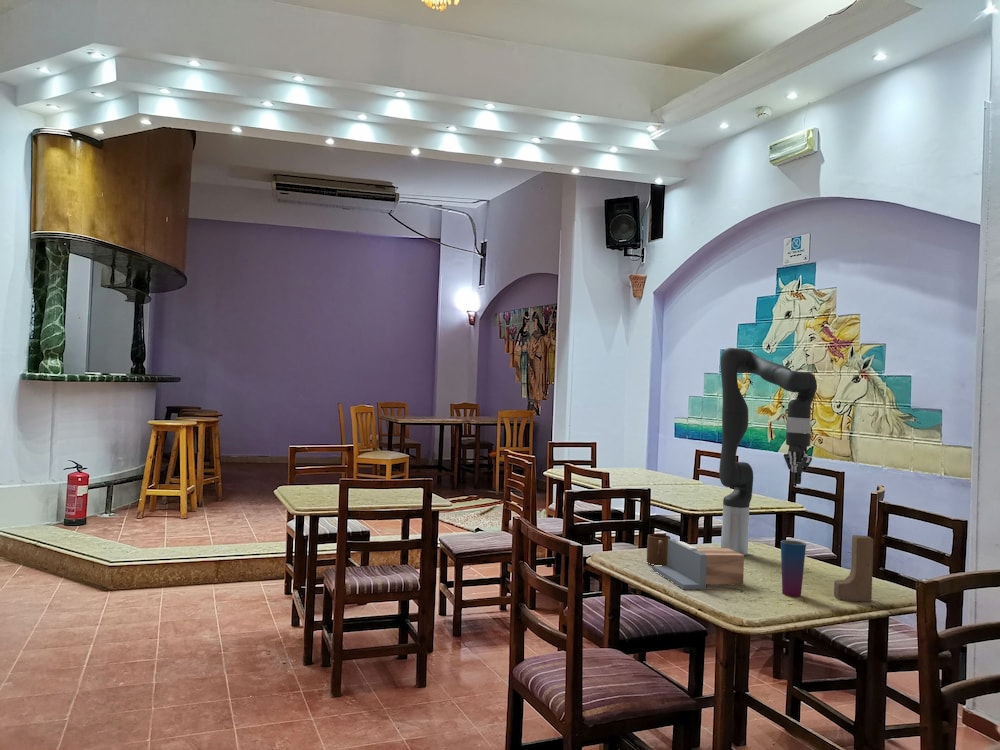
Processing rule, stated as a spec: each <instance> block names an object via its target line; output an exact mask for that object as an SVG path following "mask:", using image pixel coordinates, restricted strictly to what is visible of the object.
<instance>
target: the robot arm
mask: <svg viewBox="0 0 1000 750" xmlns="http://www.w3.org/2000/svg"><path fill="white" fill-rule="evenodd" d="M738 374H752V375H757V376H760V378H761V379H762V380H764V381H766V382H768V383H770V384H774V385H776V386H778V387H780V388H781V389H783V390H785V391H787V392H790V393H798V394H797V396H796V398H795V399H792V400H789V402H788V403H787V420H786V424H785V425H786V431H785V432H786V433H785V445H786V446H788V449H787V451H788V452H787V453H784V454H783V458H784V462H785V463H786V466H787V468H788V470H790V471H791V472H792V476H791V477H792V478H791V480H792V484H794V485H801V484H802V474H803V473H804V472H807V470H808V468H809V467H810V465H811V463H812V460H813V457H811V456H809V455H808V447H810V446H811V437H812V436H811V435H812V434H811V433H812V431H811V430H812V429H811V428H812V423H811V406H812V403H813V401H814V397H815V395H816V391H817V385H818V383H817V378H816V376H815V375H814V374H813V373H811V372H808V371H797V370H796V371H795V370H792V369H791V368H790V367H788V366H785V365H782V364H780V363H777V362H773V361H769V360H766V359H765V358H763V357H761V356H759V355H757V354H755V353H753V352H752V351H750V350H748V349H745V348H735V347H727V348H725V349H724V350H723V351H722V353H721V356H720V375H721V386H722V389H721V390H722V391H721V392H722V393H721V394H722V412H721V413H722V414H721V426H722V431H721V433H722V434H721V452H720V461H719V470H718V471H719V473H718V474H719V481H720V483H721V484H722V486H723V487H725V488H734V489H733V491H732V492H730V493H729V494H728V495H725V496H724V497H723V500H722V525H721V539H720V541H721V542H720V548H729V549H731V550H733V551H736V552H738V553H740V554H742V555H744V556H746V555H747V556H748V554H749V533H750V532H749V526H750V503H751V501H752V497H753V486H754V485H753V484H754V471H753V468H752V466H751V465H750V464H749V462H744V461H741V462H740V461H736V460H737V458H736V457H737V452H738V451H737V449H738V447H739V445H740V443H741V441H742V440H743V438H744V436H745V434H746V432H747V430H748V428H749V407H748V404H747V401H746V400H745V398H744V396H743V394H742V392H741V390H740V388H739V385H738V384H739V383H738Z"/></svg>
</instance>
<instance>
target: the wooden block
mask: <svg viewBox="0 0 1000 750" xmlns="http://www.w3.org/2000/svg"><path fill="white" fill-rule="evenodd" d="M850 559H851V564H850V565H851V566H850V567H851V568H850V572H849V575H848V576H847V577H846V578H845V579H837V580H836V579H835V580H834V581H833V582H834V583H833V596H834V597H835V598H836V599H837V600H839V599H841V600H840V601H849V600H851V602H861V601H863V603H865V602H866V603H872V600H873V599H872V596H873V595H872V594H873V565H874V538H873V537H870V536H868V535H858V534H853V535H852V536H851V558H850Z"/></svg>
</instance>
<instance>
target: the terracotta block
mask: <svg viewBox="0 0 1000 750" xmlns="http://www.w3.org/2000/svg"><path fill="white" fill-rule="evenodd" d="M696 548H697V551H699V552H701V553H704V554H706V555H707V566H706V584H743V585H744V572H745V571H744V568H745V567H744V565H745V555H742V554H740V553H738V552H736V551H733V550H731V549H729V548H721V547H696Z"/></svg>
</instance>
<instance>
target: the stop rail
mask: <svg viewBox="0 0 1000 750" xmlns="http://www.w3.org/2000/svg"><path fill="white" fill-rule="evenodd" d="M697 548H698V547H695V546H693V545H692V544H689V543H687V542H684V541H679V540H676V539H674V538H672V539H671V538H670V539H668V551H667V566H653V565H651V570H652V569H653V570H654V571H656V572H658V573H659V574H661V575H662V576H664V577H665V578H667V579H669V580H670V581H672V582H673V583H675V584H676V585H678V586H680V587H681V588H682V589H681V588H680V589H681V590H683V589H706V588H707V585H706V566H707V555H706V554H704V553H701V552H699V551H697ZM654 571H653V572H654ZM659 574H658V575H659ZM662 576H661V577H662ZM665 578H664V579H665ZM667 579H666V580H667ZM670 581H669V582H670ZM673 583H672V584H673ZM675 584H674V585H675ZM676 585H675V586H676ZM678 586H677V587H678Z"/></svg>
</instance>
